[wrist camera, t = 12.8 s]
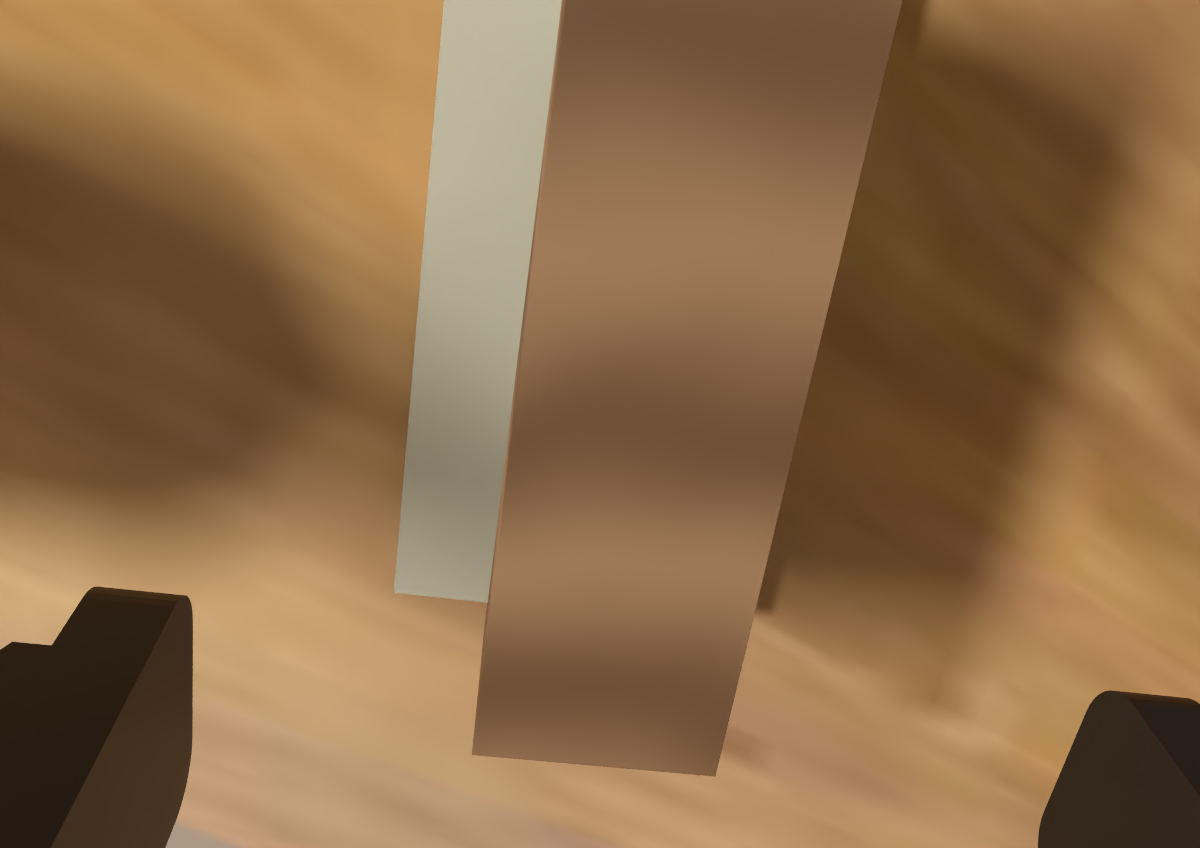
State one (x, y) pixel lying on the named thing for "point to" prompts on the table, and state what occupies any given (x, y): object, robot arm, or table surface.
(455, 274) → the peg stand
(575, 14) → the walnut shelf board
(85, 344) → the table surface
